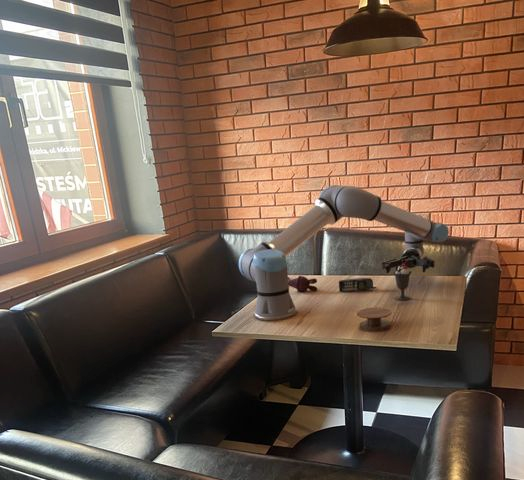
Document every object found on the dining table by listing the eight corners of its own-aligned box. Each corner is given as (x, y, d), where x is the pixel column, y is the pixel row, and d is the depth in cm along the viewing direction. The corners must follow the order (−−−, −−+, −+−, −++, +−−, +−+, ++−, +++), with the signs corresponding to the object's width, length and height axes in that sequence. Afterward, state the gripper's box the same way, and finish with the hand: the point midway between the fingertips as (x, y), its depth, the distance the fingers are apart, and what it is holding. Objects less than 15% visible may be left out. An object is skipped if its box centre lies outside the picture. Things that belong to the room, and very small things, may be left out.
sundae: (412, 300, 198) (412, 260, 193) (393, 301, 199) (393, 261, 194) (411, 296, 204) (411, 257, 199) (393, 296, 205) (392, 258, 200)
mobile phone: (338, 281, 218) (376, 277, 215) (338, 279, 221) (375, 276, 217) (339, 292, 220) (376, 289, 216) (339, 291, 222) (376, 288, 219)
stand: (351, 325, 178) (350, 311, 177) (380, 319, 181) (379, 305, 180) (367, 334, 169) (367, 319, 167) (398, 328, 172) (398, 313, 170)
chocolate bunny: (280, 279, 224) (314, 282, 219) (285, 271, 230) (319, 273, 225) (281, 293, 228) (315, 296, 223) (286, 285, 234) (319, 287, 229)
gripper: (442, 265, 221) (439, 278, 202) (381, 267, 230) (373, 279, 212) (442, 247, 218) (439, 258, 200) (381, 249, 227) (372, 260, 209)
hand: (405, 269), depth 206 cm, fingers open, 13 cm apart
